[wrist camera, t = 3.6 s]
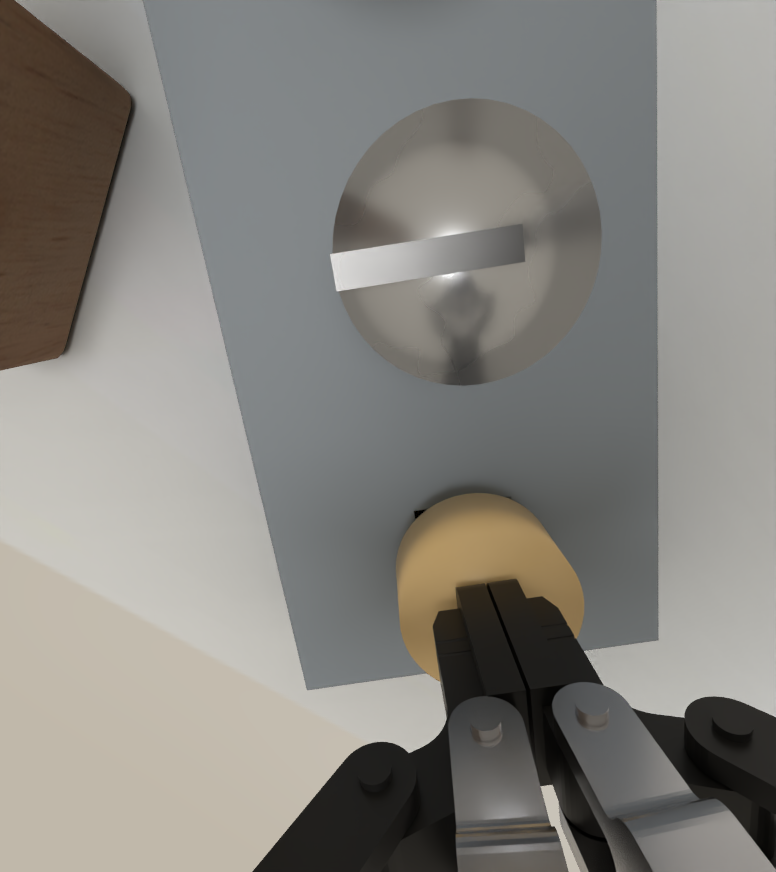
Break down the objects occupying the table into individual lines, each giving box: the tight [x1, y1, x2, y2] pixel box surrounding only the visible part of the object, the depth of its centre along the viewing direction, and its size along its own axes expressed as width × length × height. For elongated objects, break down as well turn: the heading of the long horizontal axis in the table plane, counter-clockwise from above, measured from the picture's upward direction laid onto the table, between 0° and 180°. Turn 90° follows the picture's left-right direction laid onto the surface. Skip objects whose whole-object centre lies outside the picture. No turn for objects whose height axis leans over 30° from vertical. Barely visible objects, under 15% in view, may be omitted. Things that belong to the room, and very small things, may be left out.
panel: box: [143, 0, 658, 690], centre depth 16 cm, size 12×26×4 cm, turn 9°
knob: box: [396, 493, 584, 681], centre depth 16 cm, size 5×5×6 cm
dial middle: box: [330, 98, 602, 386], centre depth 12 cm, size 5×5×6 cm
